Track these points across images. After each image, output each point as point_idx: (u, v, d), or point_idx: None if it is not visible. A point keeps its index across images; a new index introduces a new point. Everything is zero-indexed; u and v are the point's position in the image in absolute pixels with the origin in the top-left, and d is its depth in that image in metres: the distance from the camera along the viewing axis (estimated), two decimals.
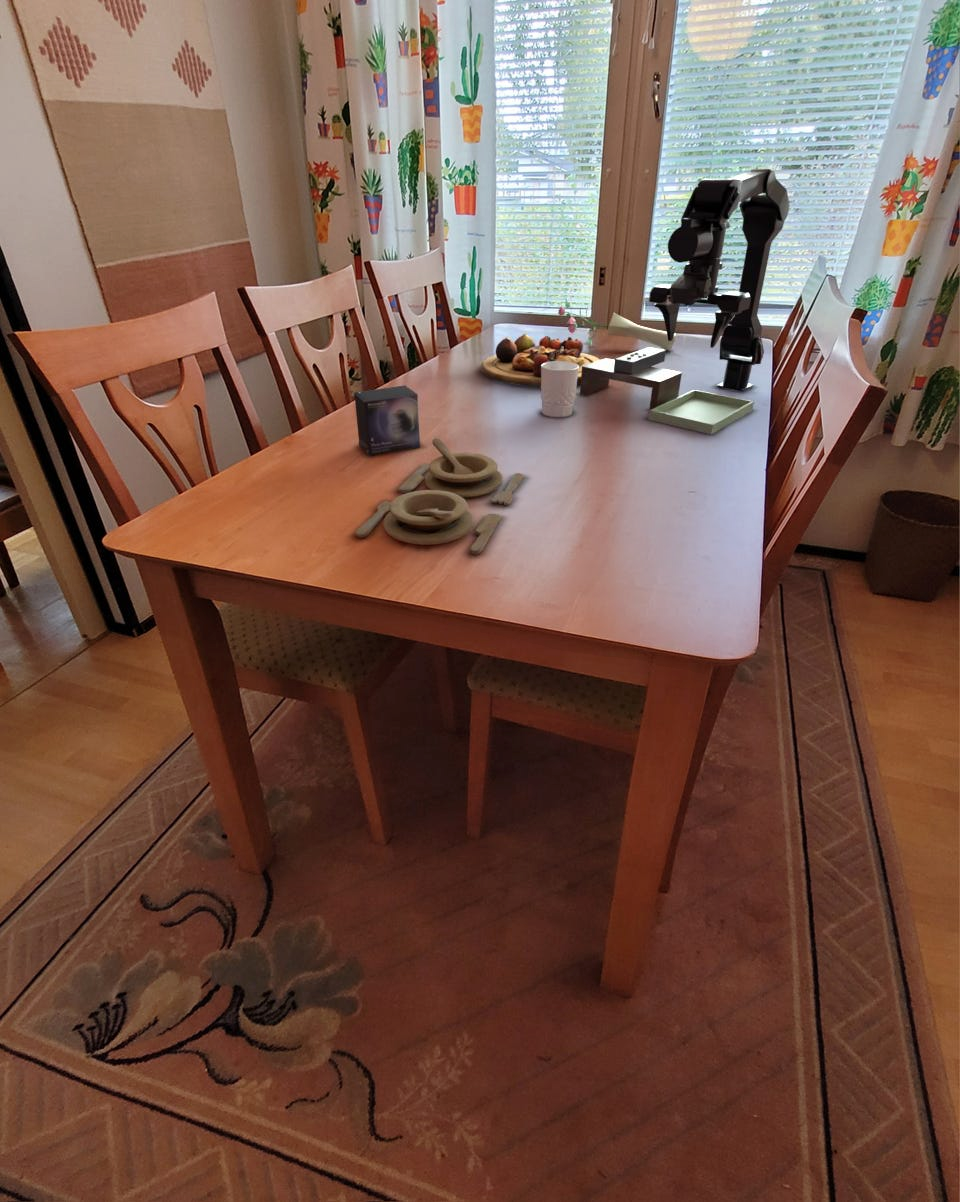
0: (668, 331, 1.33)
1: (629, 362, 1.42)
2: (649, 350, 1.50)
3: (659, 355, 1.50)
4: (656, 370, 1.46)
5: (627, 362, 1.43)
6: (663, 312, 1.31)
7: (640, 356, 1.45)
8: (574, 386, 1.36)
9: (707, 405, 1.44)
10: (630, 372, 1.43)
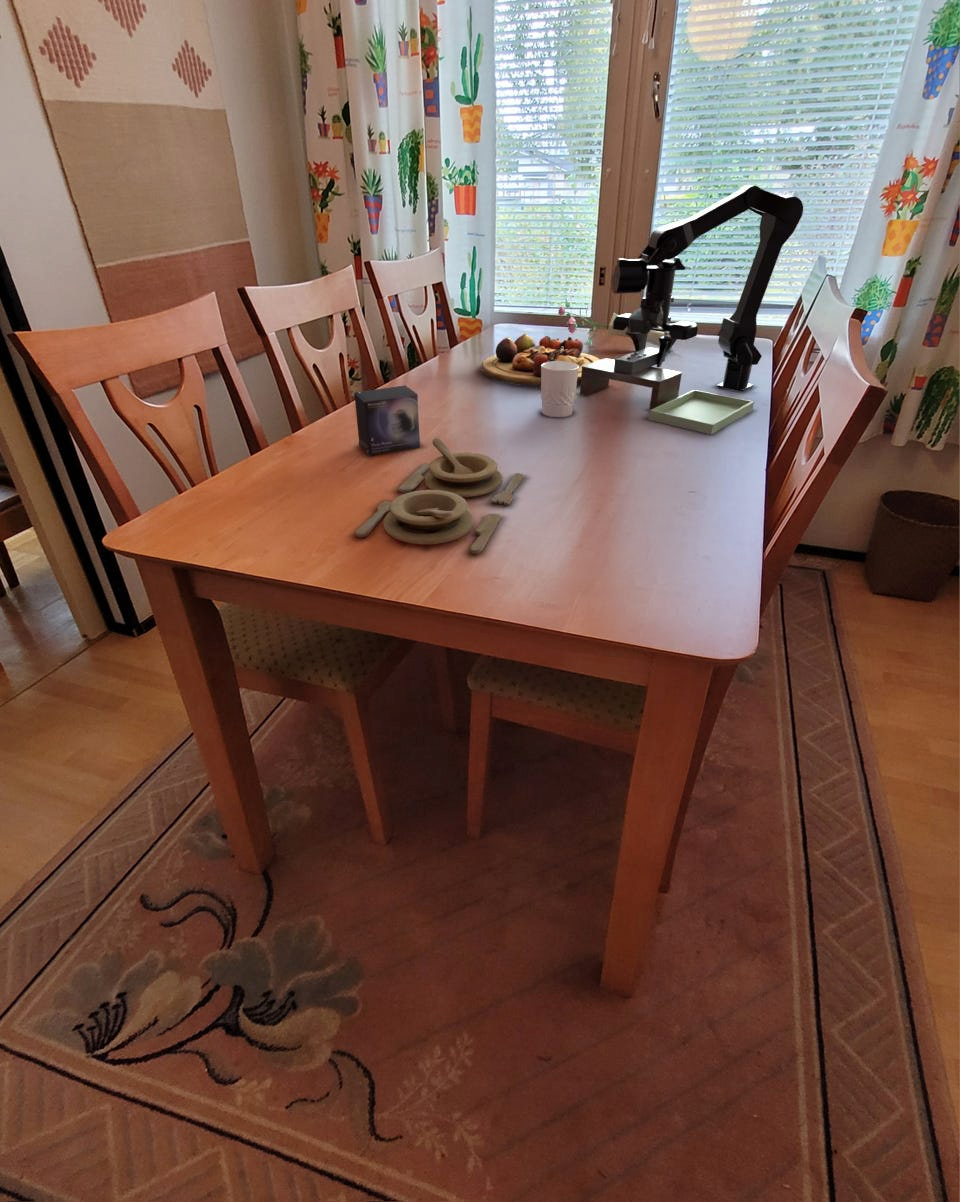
0: None
1: (629, 362, 1.42)
2: (649, 350, 1.50)
3: None
4: (656, 370, 1.46)
5: (627, 362, 1.43)
6: (633, 339, 1.50)
7: (640, 356, 1.45)
8: (574, 386, 1.36)
9: (707, 405, 1.44)
10: (630, 372, 1.43)
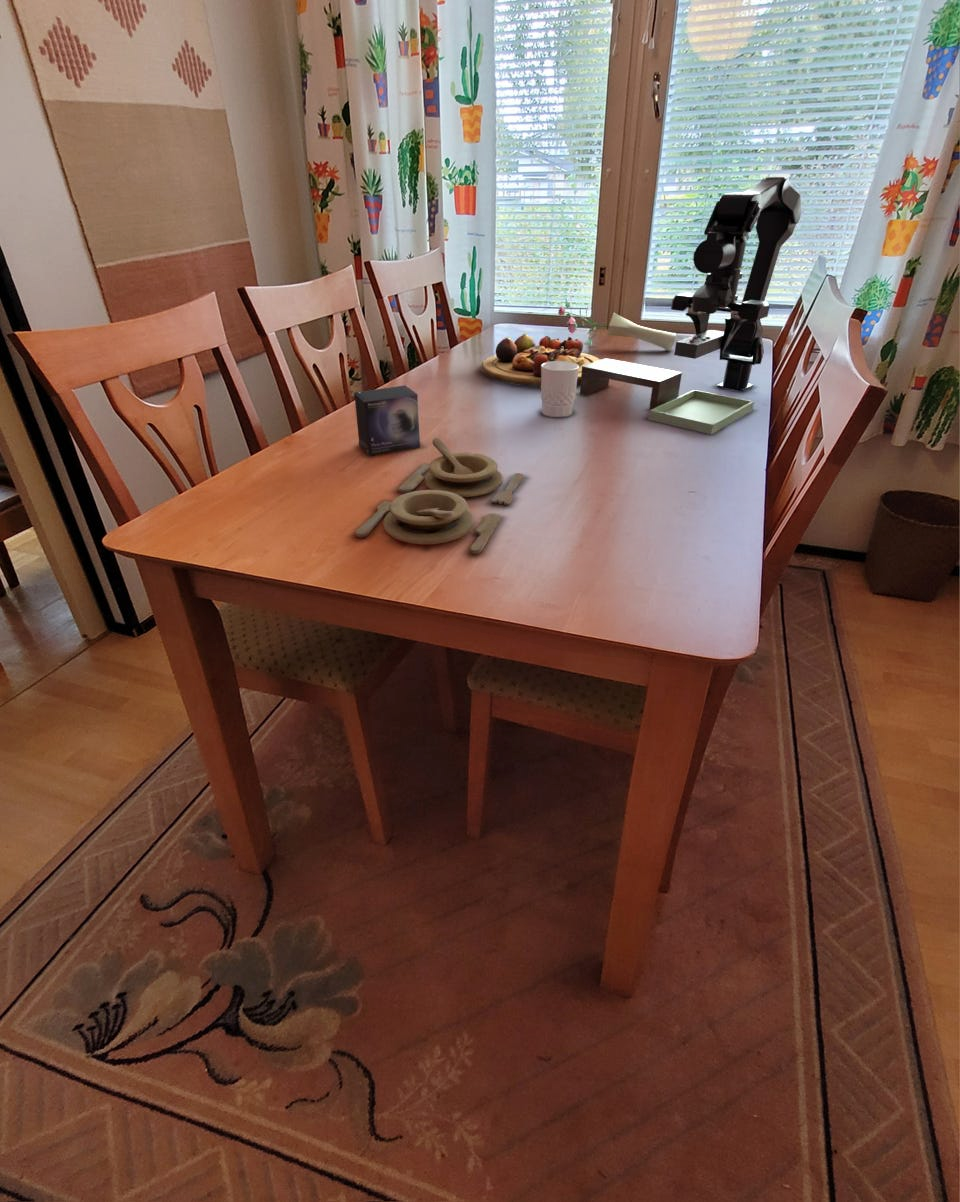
0: None
1: (693, 345, 1.28)
2: (712, 333, 1.36)
3: None
4: (656, 370, 1.46)
5: (691, 345, 1.28)
6: (694, 321, 1.36)
7: (704, 339, 1.31)
8: (574, 386, 1.36)
9: (707, 405, 1.44)
10: (694, 356, 1.29)
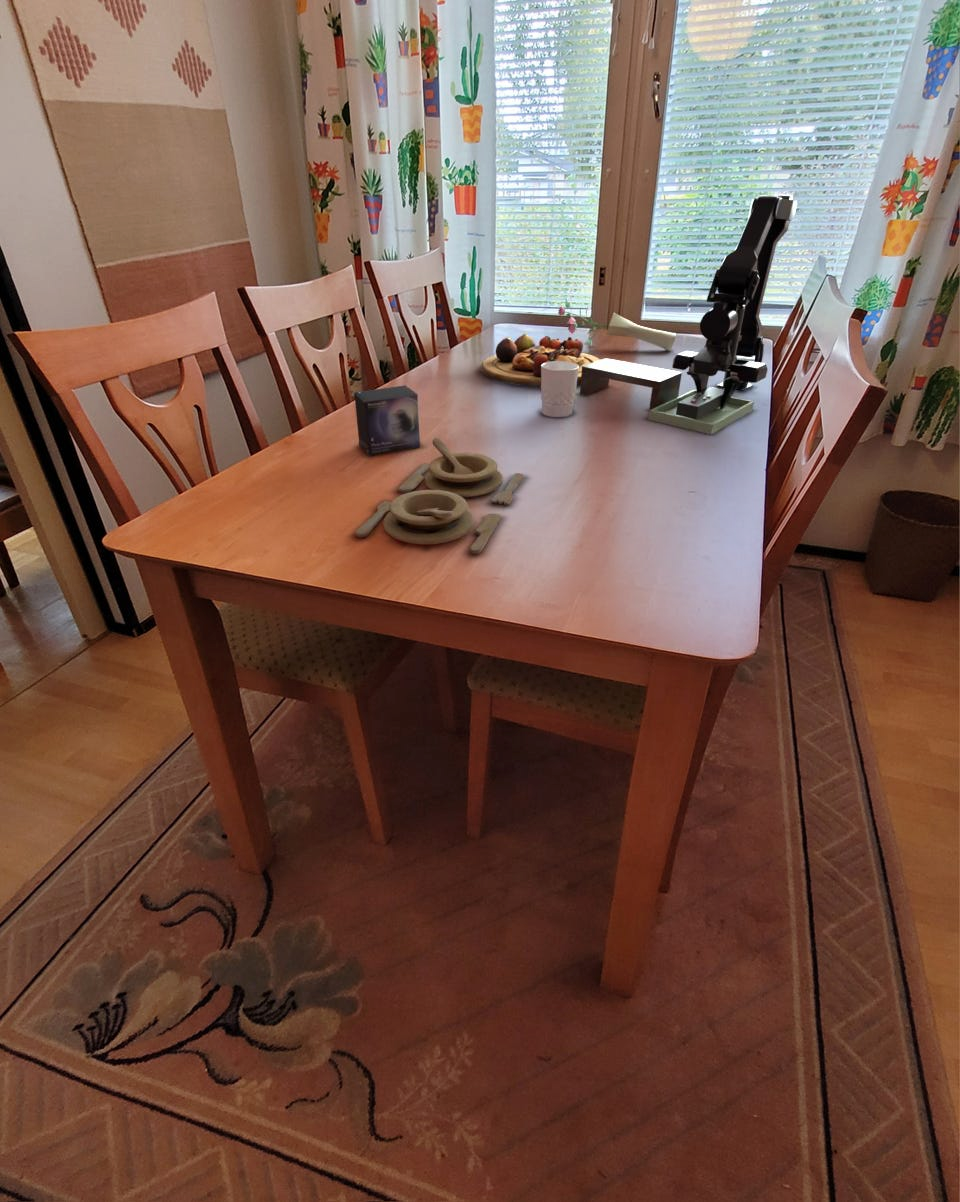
0: None
1: (694, 406, 1.32)
2: (712, 391, 1.40)
3: None
4: (656, 370, 1.46)
5: (692, 406, 1.32)
6: (695, 379, 1.40)
7: (705, 399, 1.35)
8: (574, 386, 1.36)
9: None
10: (695, 417, 1.33)
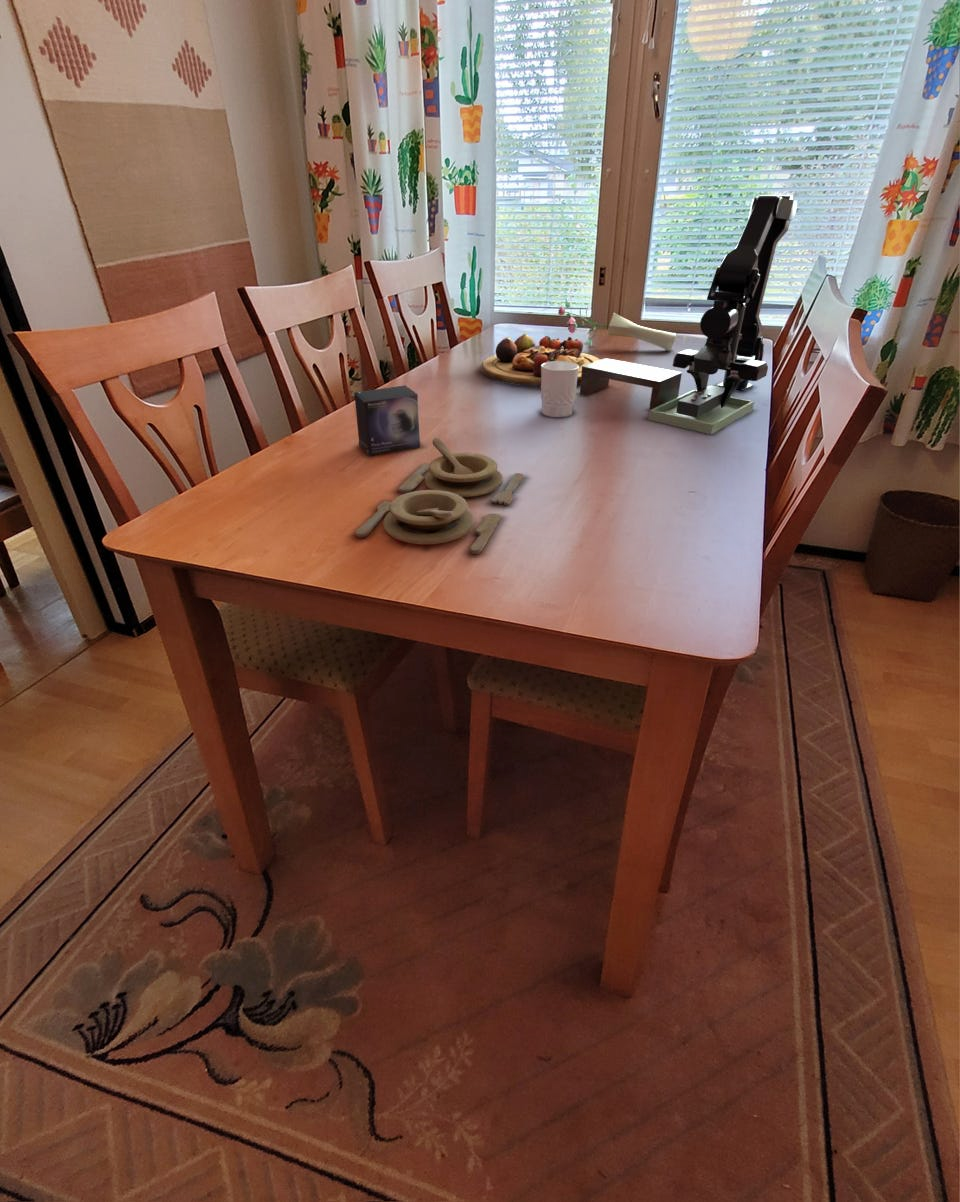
0: None
1: (695, 405, 1.32)
2: (712, 389, 1.40)
3: None
4: (656, 370, 1.46)
5: (692, 405, 1.32)
6: (695, 377, 1.40)
7: (705, 397, 1.35)
8: (574, 386, 1.36)
9: None
10: (695, 415, 1.33)
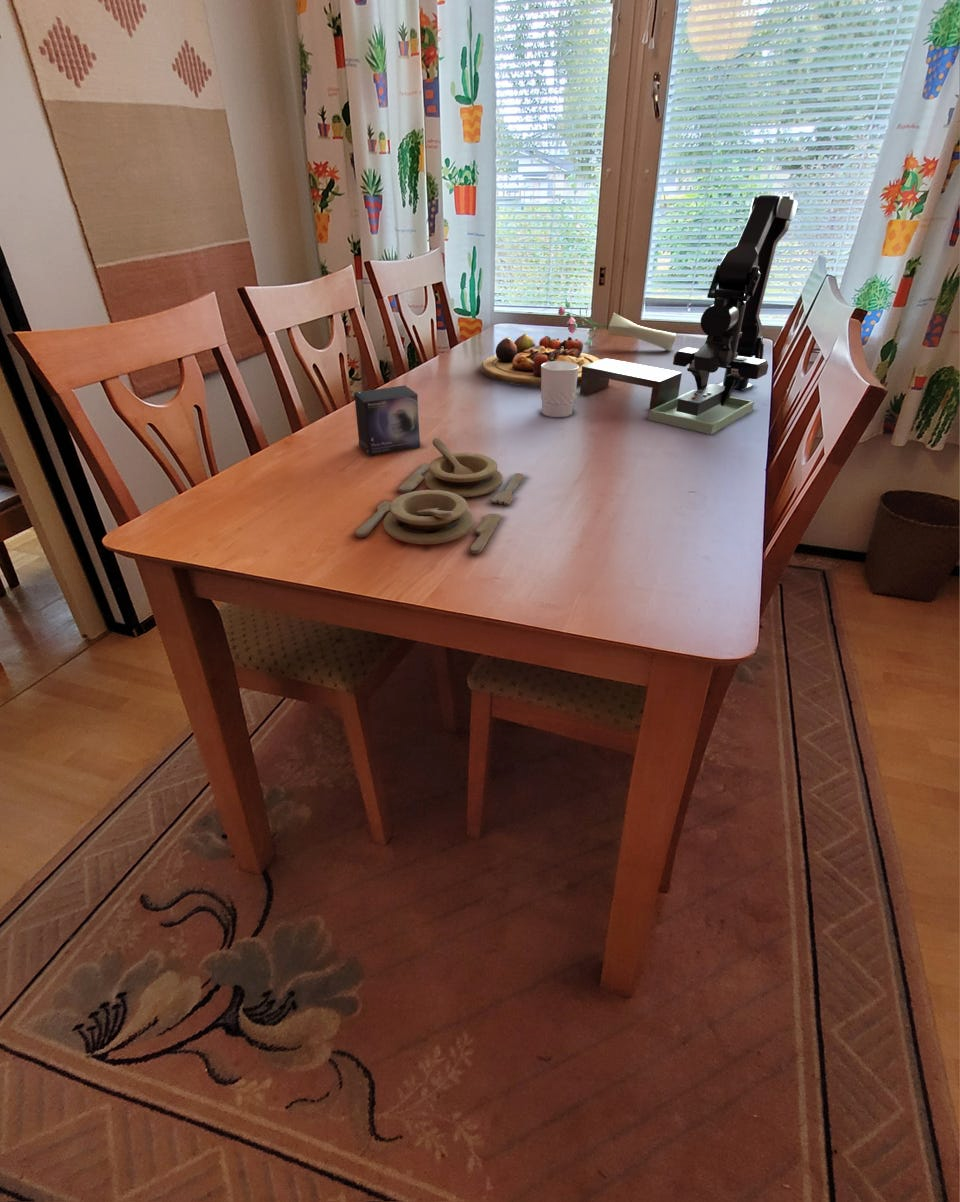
0: None
1: (695, 403, 1.32)
2: (712, 388, 1.40)
3: None
4: (656, 370, 1.46)
5: (692, 403, 1.32)
6: (695, 376, 1.40)
7: (705, 396, 1.35)
8: (574, 386, 1.36)
9: None
10: (695, 413, 1.33)
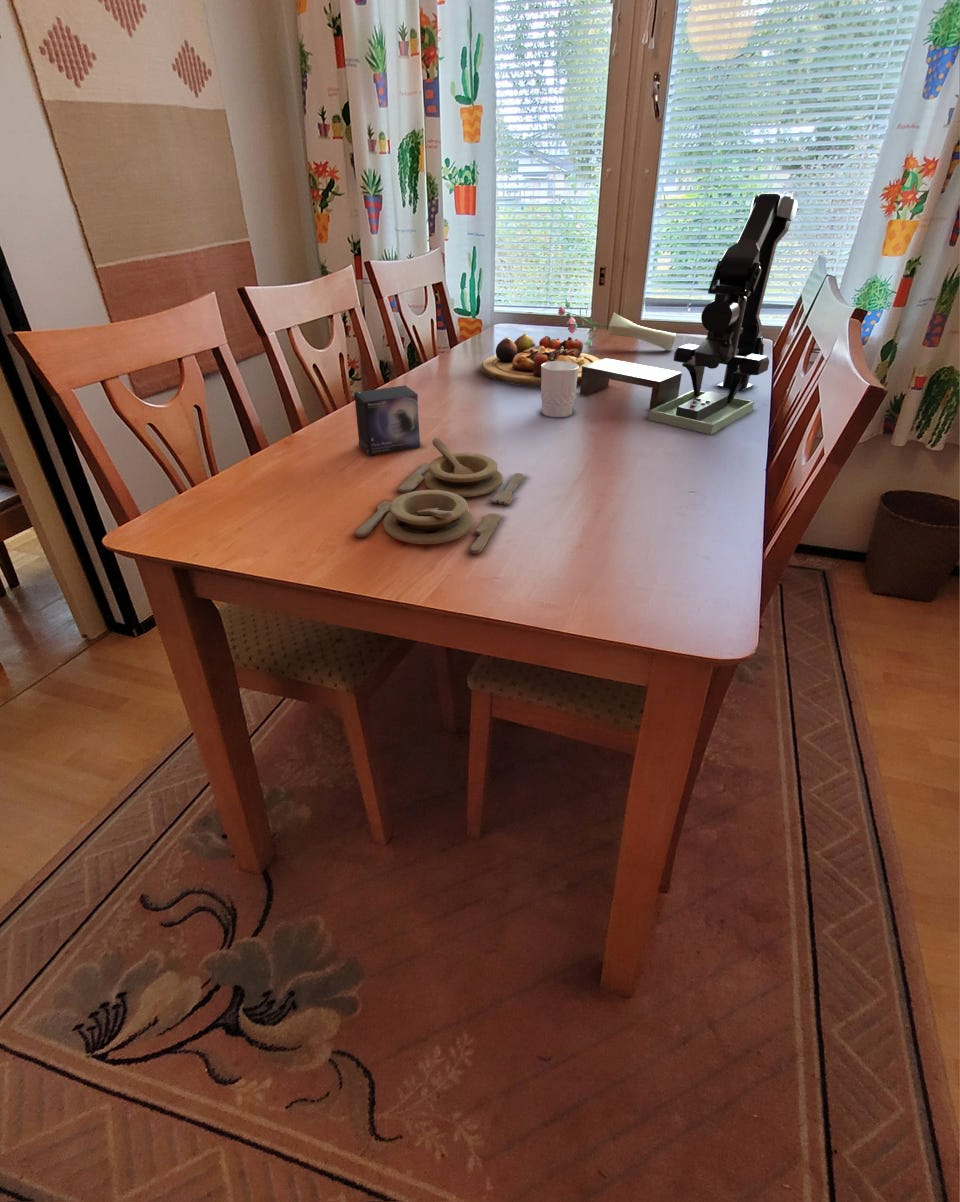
0: (695, 388, 1.42)
1: (693, 411, 1.33)
2: (711, 395, 1.41)
3: (722, 401, 1.40)
4: (656, 370, 1.46)
5: (691, 411, 1.33)
6: (690, 371, 1.40)
7: (704, 403, 1.36)
8: (574, 386, 1.36)
9: None
10: None
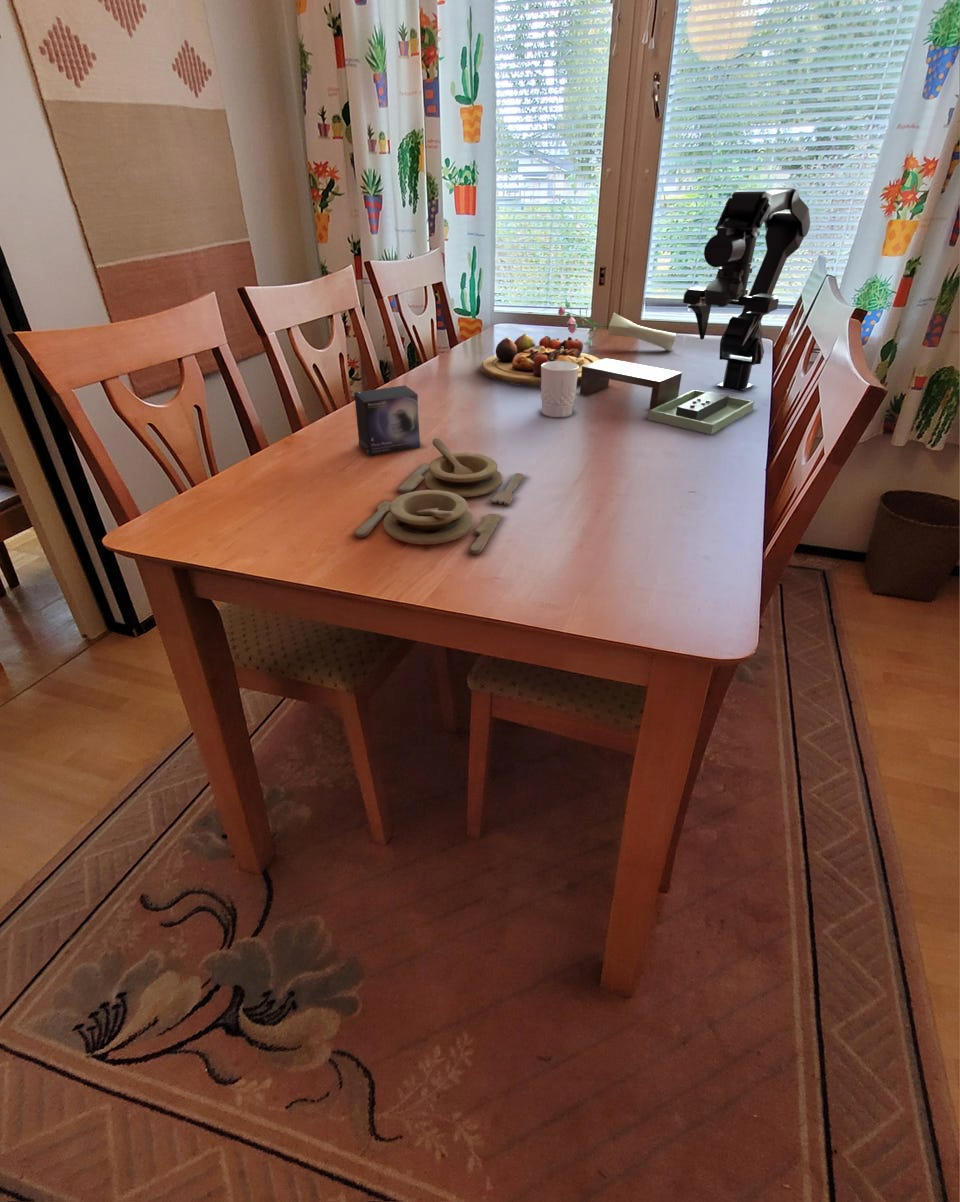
0: (700, 330, 1.43)
1: (693, 411, 1.33)
2: (711, 395, 1.41)
3: (722, 401, 1.40)
4: (656, 370, 1.46)
5: (691, 411, 1.33)
6: (696, 313, 1.41)
7: (704, 403, 1.36)
8: (574, 386, 1.36)
9: None
10: None
